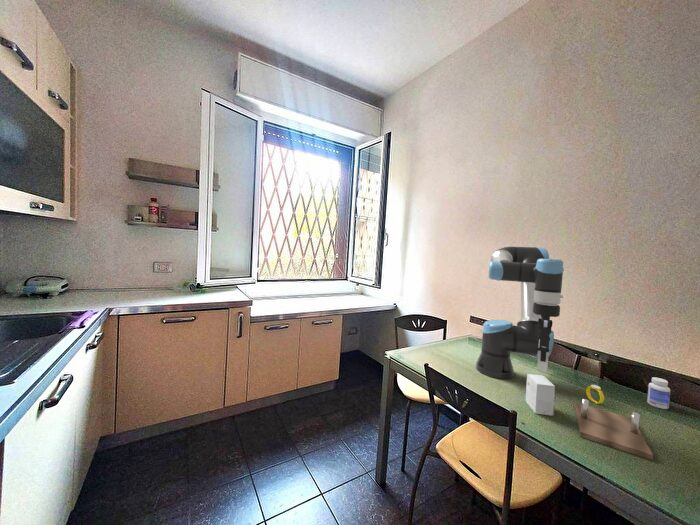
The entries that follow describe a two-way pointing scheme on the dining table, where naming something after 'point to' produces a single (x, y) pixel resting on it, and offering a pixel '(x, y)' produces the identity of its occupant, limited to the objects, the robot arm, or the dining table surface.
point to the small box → (540, 394)
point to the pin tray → (611, 429)
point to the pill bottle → (658, 393)
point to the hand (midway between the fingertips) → (542, 363)
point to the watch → (598, 391)
